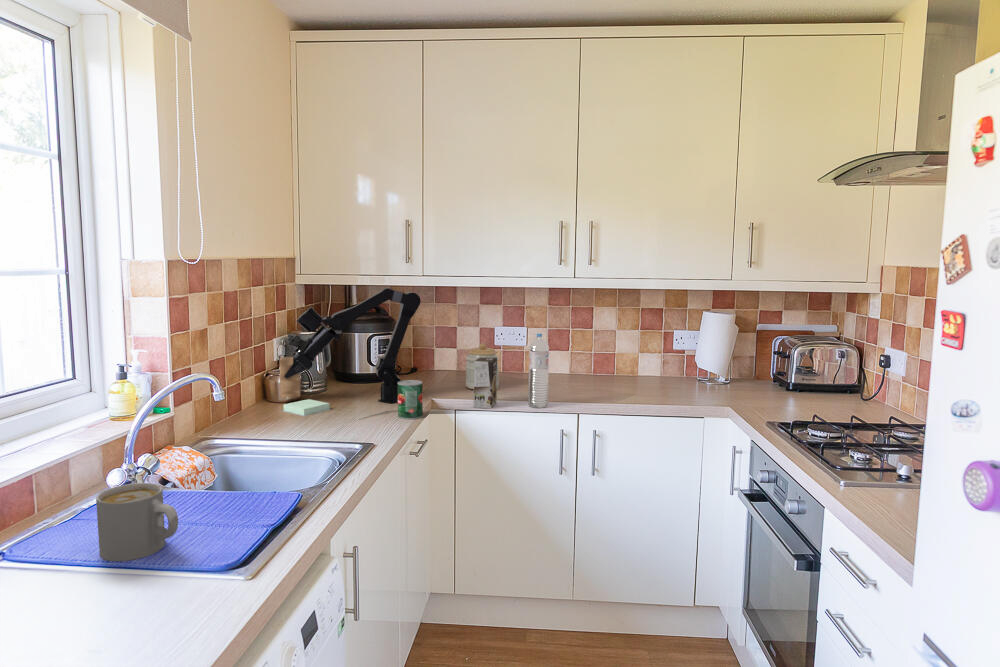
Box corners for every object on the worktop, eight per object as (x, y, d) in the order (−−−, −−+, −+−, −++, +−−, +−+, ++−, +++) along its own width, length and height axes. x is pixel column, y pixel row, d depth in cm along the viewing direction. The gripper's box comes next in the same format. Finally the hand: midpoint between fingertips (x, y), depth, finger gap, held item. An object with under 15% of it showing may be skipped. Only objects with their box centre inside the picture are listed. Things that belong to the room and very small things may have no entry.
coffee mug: (85, 555, 111) (81, 498, 110) (136, 532, 120) (133, 479, 119) (145, 569, 106) (142, 510, 105) (193, 544, 116) (190, 489, 115)
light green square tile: (331, 415, 211) (331, 409, 211) (303, 422, 202) (303, 416, 202) (309, 410, 217) (309, 404, 217) (281, 417, 208) (281, 411, 208)
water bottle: (541, 409, 220) (543, 335, 217) (524, 406, 224) (525, 334, 221) (551, 405, 226) (552, 333, 223) (534, 403, 230) (535, 332, 227)
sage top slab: (329, 409, 211) (329, 403, 211) (304, 415, 203) (304, 409, 203) (309, 405, 217) (308, 399, 216) (283, 410, 208) (283, 404, 208)
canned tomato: (427, 416, 208) (427, 382, 207) (406, 420, 203) (406, 385, 202) (413, 412, 214) (413, 379, 213) (392, 415, 209) (392, 381, 208)
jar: (467, 384, 261) (467, 340, 259) (499, 385, 260) (500, 341, 258) (464, 391, 248) (464, 345, 246) (498, 391, 248) (499, 345, 245)
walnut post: (299, 392, 223) (298, 356, 222) (299, 396, 218) (298, 359, 216) (281, 393, 222) (279, 357, 220) (280, 397, 216) (279, 359, 215)
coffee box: (491, 408, 220) (492, 361, 218) (473, 407, 221) (473, 360, 220) (497, 402, 229) (497, 357, 227) (479, 401, 230) (479, 356, 228)
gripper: (300, 322, 227) (268, 355, 225) (300, 328, 209) (265, 364, 207) (324, 344, 230) (292, 376, 228) (326, 352, 212) (291, 387, 211)
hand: (285, 375), depth 219 cm, fingers closed on walnut post, 6 cm apart
